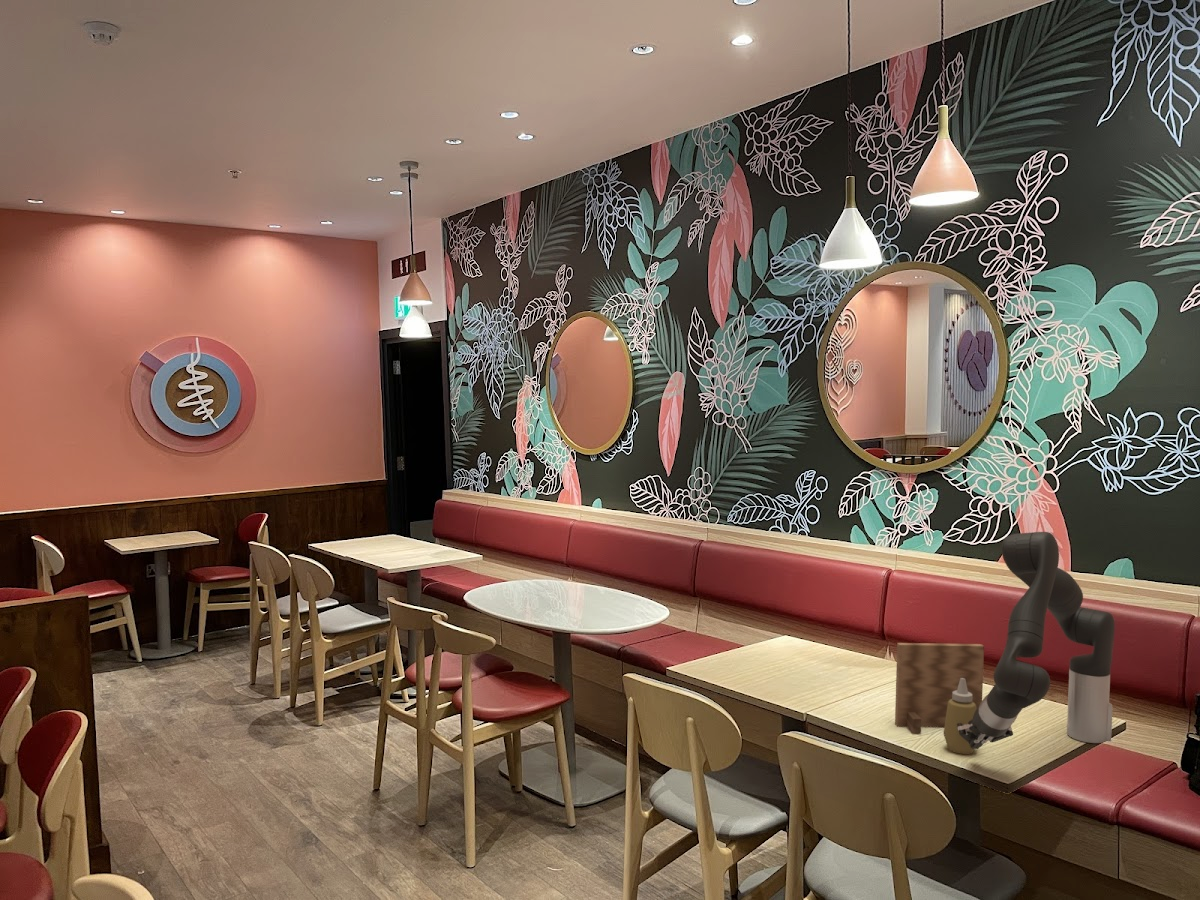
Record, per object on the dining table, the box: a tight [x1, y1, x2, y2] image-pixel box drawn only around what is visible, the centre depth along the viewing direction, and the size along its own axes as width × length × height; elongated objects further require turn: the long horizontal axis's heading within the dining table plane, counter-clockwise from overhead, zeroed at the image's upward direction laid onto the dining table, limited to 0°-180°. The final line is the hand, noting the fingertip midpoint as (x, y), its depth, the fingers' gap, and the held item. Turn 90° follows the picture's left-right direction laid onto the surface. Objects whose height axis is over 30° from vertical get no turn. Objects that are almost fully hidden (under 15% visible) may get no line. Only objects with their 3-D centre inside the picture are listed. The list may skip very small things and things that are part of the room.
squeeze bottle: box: [943, 678, 976, 755], centre depth 220 cm, size 8×8×18 cm
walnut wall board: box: [894, 642, 985, 735], centre depth 233 cm, size 22×7×22 cm, turn 88°
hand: (973, 745), depth 212 cm, fingers closed
